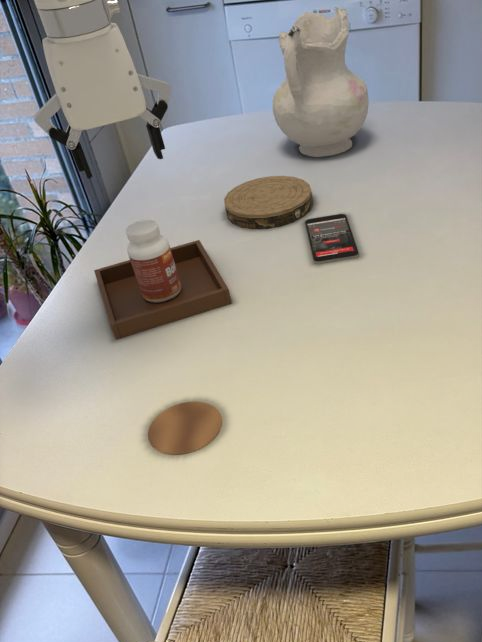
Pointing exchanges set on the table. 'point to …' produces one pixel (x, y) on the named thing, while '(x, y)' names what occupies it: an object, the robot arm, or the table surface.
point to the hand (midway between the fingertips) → (124, 165)
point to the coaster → (185, 428)
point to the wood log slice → (268, 202)
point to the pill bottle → (152, 262)
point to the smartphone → (331, 239)
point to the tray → (140, 315)
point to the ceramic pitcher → (319, 86)
